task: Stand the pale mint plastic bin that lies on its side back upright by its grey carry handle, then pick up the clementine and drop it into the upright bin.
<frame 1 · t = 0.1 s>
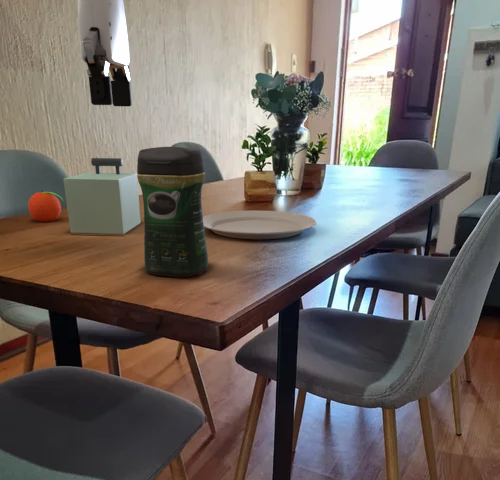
hand: (112, 105, 84), 24 cm above the table, tool pointing down, fingers open, 9 cm apart
coffee jar: (176, 272, 81), on the table
clementine: (49, 223, 117), on the table
plate: (257, 230, 111), on the table
bin: (103, 195, 107), point 7 cm above the table, hinge at 90.0°
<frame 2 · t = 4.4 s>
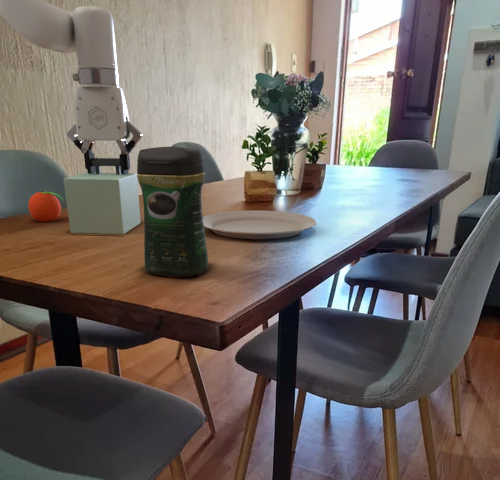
hand: (108, 172, 109), 11 cm above the table, tool pointing down, fingers closed on bin, 6 cm apart
bin: (103, 195, 107), point 7 cm above the table, hinge at 90.0°, touching gripper
everything else where it was.
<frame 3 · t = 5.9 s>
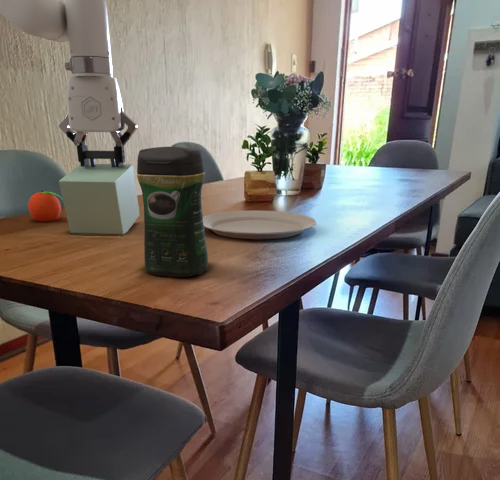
hand: (102, 165, 105), 13 cm above the table, tool pointing down, fingers closed on bin, 6 cm apart
bin: (100, 191, 105), point 8 cm above the table, hinge at 79.0°, touching gripper
everything else where it was.
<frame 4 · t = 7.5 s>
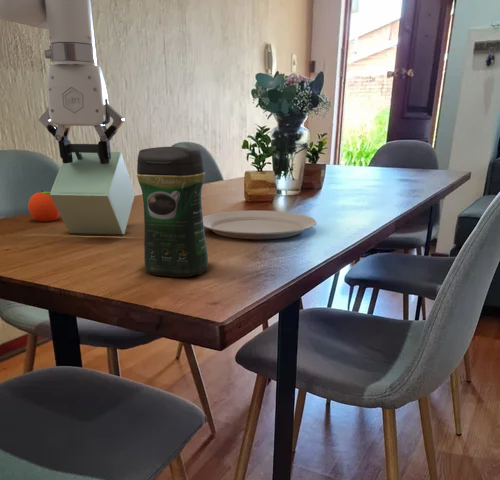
hand: (86, 162, 97), 14 cm above the table, tool pointing down, fingers closed on bin, 6 cm apart
bin: (92, 188, 101), point 9 cm above the table, hinge at 53.4°, touching gripper
everything else where it was.
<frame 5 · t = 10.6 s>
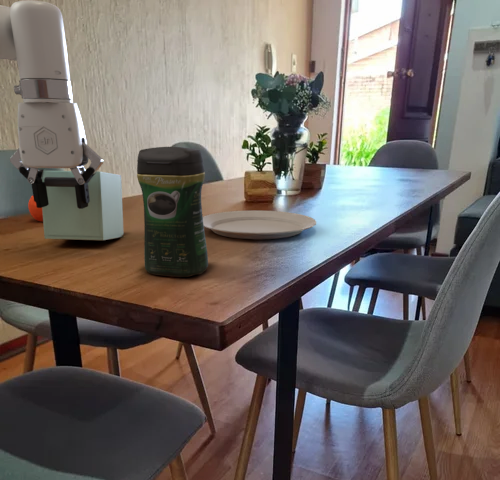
hand: (62, 206, 88), 8 cm above the table, tool pointing down, fingers closed on bin, 6 cm apart
bin: (80, 205, 95), point 7 cm above the table, hinge at 8.8°, touching gripper
everything else where it was.
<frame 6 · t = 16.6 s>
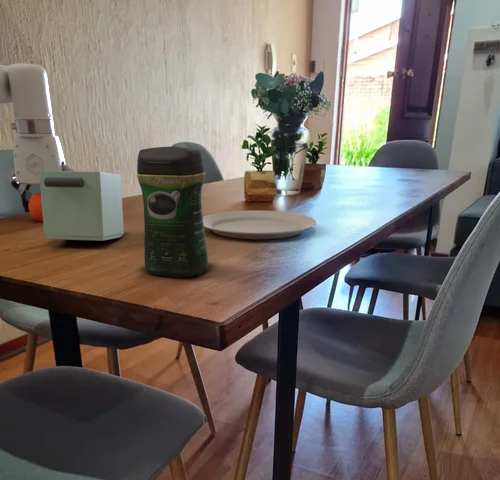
hand: (47, 211, 116), 3 cm above the table, tool pointing down, fingers closed on clementine, 8 cm apart
clementine: (49, 223, 117), on the table, touching gripper
bin: (80, 205, 95), point 7 cm above the table, hinge at 8.6°
everything else where it was.
when the fingers open (15 cm above the table, at t = 23.6 s): clementine drops 8 cm, resting on bin.
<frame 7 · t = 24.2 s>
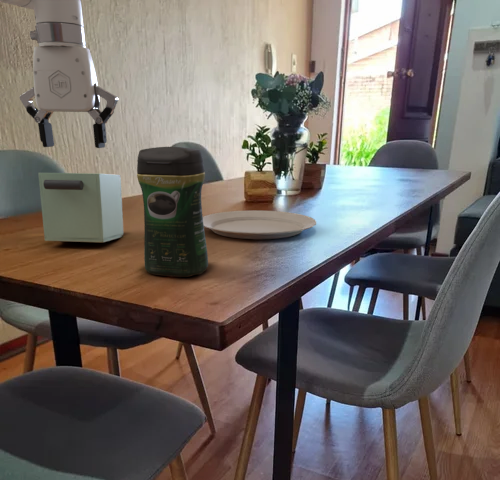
hand: (74, 147, 92), 17 cm above the table, tool pointing down, fingers open, 9 cm apart
clementine: (81, 224, 96), point 4 cm above the table, touching bin
bin: (80, 207, 95), point 7 cm above the table, hinge at 6.9°, touching clementine
everything else where it was.
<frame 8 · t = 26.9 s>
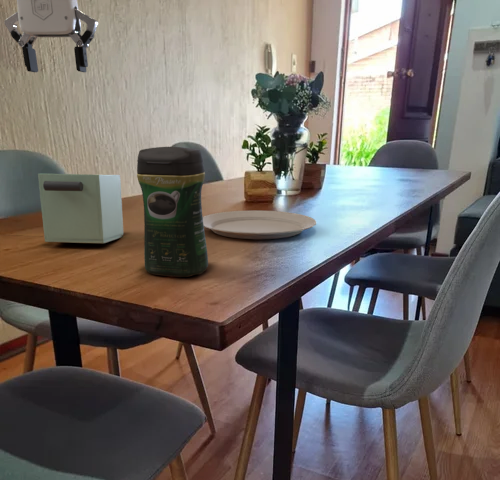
hand: (57, 71, 97), 30 cm above the table, tool pointing down, fingers open, 9 cm apart
bin: (80, 207, 95), point 7 cm above the table, hinge at 6.0°, touching clementine
everything else where it was.
at the end: bin at +6° (first picture: +90°); clementine inside the target area on the bin (1.3 cm from its centre), point 3.0 cm above the bin's base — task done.
